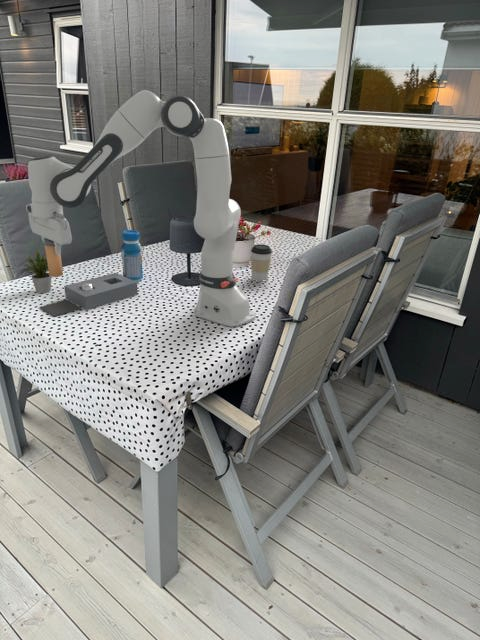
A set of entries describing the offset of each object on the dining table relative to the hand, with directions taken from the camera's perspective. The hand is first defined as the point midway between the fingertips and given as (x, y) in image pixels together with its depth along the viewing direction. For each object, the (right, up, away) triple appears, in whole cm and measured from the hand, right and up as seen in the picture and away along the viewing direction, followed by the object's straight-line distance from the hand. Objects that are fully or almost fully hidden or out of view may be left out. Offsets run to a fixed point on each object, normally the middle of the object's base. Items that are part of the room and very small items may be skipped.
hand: (53, 251), depth 149 cm
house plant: (-13, -12, +21) cm, 28 cm away
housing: (+10, -14, +21) cm, 27 cm away
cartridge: (0, -7, +3) cm, 8 cm away
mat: (-1, -19, +9) cm, 21 cm away
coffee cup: (+70, -5, +48) cm, 85 cm away
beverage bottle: (+17, -6, +39) cm, 43 cm away
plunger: (+6, -15, +16) cm, 23 cm away
